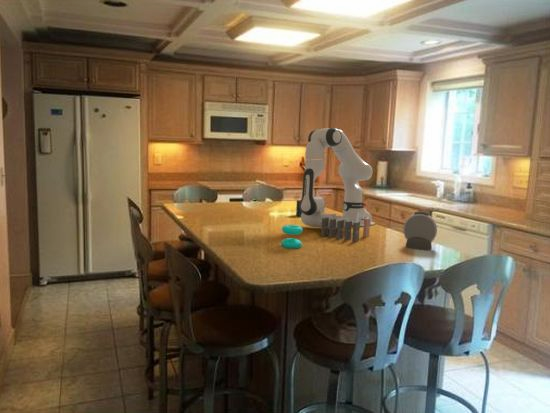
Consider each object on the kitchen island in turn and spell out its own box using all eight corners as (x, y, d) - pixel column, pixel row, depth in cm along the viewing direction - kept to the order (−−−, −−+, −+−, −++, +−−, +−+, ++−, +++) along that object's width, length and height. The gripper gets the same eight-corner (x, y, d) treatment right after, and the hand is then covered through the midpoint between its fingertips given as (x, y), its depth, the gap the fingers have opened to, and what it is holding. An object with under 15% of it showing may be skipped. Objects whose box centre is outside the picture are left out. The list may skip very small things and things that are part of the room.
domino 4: (344, 240, 250) (345, 221, 249) (347, 238, 255) (349, 220, 253) (347, 240, 250) (348, 221, 248) (350, 239, 254) (352, 220, 252)
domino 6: (362, 236, 262) (364, 218, 260) (366, 235, 266) (367, 217, 265) (365, 237, 261) (366, 219, 260) (368, 235, 265) (370, 218, 264)
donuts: (284, 223, 234) (304, 225, 232) (283, 243, 236) (303, 245, 234) (280, 227, 224) (301, 228, 223) (279, 248, 226) (300, 249, 224)
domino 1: (321, 236, 257) (322, 218, 256) (325, 235, 262) (326, 217, 260) (323, 237, 257) (324, 218, 255) (327, 235, 261) (328, 217, 259)
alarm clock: (435, 247, 243) (438, 211, 240) (435, 251, 233) (438, 214, 231) (402, 243, 248) (405, 209, 246) (401, 247, 239) (404, 211, 236)
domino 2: (328, 237, 255) (329, 219, 254) (332, 236, 259) (333, 218, 258) (331, 238, 254) (332, 219, 253) (335, 236, 258) (336, 218, 257)
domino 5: (352, 241, 248) (353, 222, 247) (355, 240, 252) (357, 221, 251) (355, 241, 247) (356, 222, 246) (358, 240, 251) (360, 221, 250)
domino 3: (336, 239, 253) (337, 220, 251) (340, 237, 257) (341, 219, 256) (339, 239, 252) (340, 220, 251) (343, 238, 256) (344, 219, 255)
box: (306, 215, 329) (307, 200, 327) (309, 216, 323) (309, 201, 322) (295, 215, 327) (296, 199, 326) (297, 216, 322) (298, 201, 320)
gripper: (319, 217, 266) (342, 220, 259) (335, 213, 283) (356, 216, 276) (318, 228, 267) (341, 232, 260) (334, 224, 284) (356, 227, 277)
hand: (349, 224), depth 268 cm, fingers open, 8 cm apart
